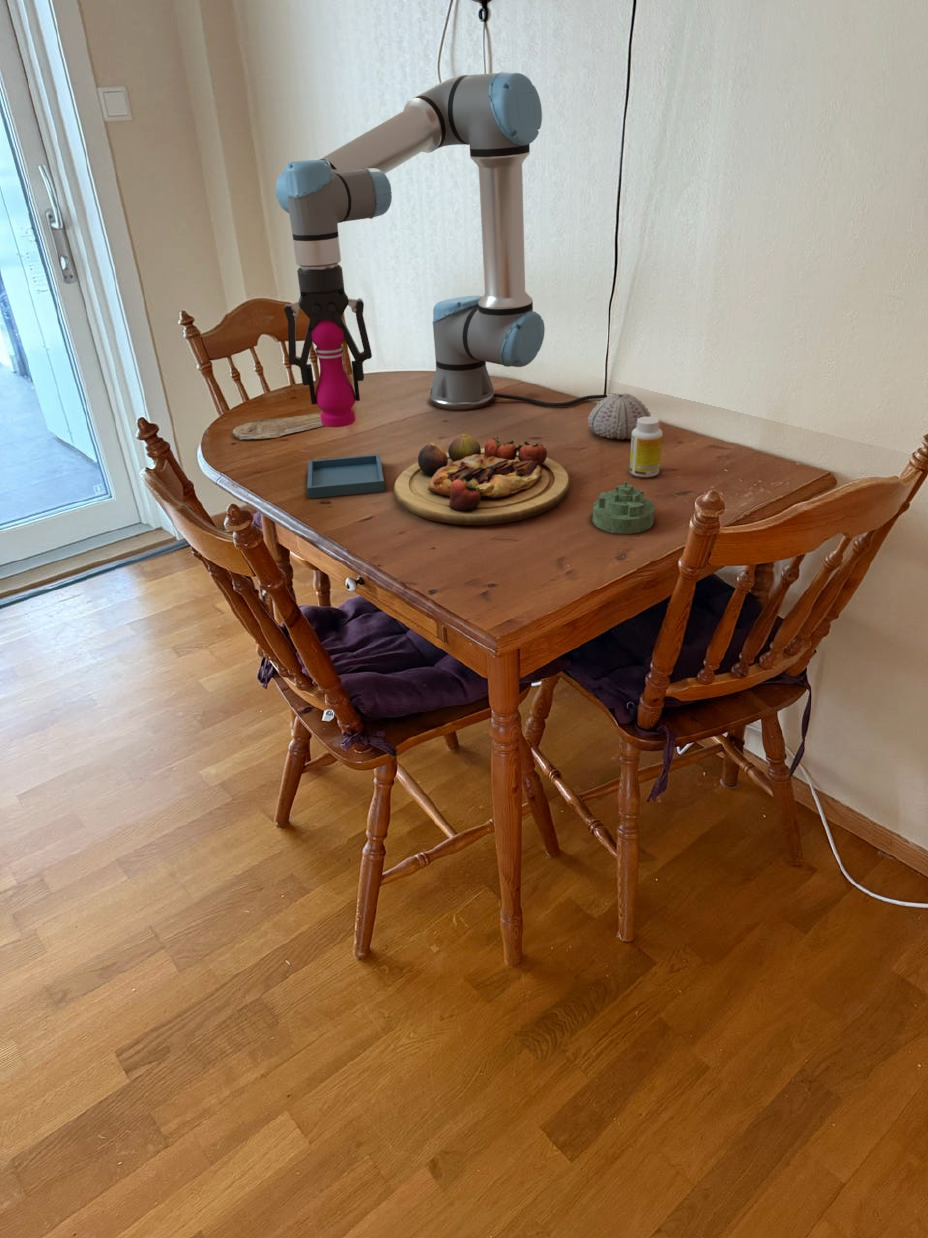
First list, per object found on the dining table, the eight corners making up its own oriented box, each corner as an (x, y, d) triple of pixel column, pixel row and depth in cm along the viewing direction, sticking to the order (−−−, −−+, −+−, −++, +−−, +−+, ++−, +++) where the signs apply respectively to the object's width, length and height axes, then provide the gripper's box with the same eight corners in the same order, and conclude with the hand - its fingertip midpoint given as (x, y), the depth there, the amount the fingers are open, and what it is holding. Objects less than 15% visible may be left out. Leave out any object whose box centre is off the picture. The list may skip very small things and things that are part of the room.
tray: (380, 463, 166) (379, 453, 165) (385, 491, 154) (383, 480, 153) (309, 470, 165) (308, 460, 163) (308, 498, 153) (307, 487, 152)
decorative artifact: (599, 505, 145) (586, 530, 137) (601, 467, 141) (588, 490, 133) (658, 511, 142) (647, 537, 134) (661, 472, 138) (651, 496, 130)
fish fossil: (332, 408, 197) (332, 403, 197) (352, 422, 190) (352, 417, 190) (227, 430, 185) (227, 425, 185) (244, 446, 178) (244, 441, 178)
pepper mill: (365, 417, 155) (353, 305, 145) (344, 430, 150) (330, 314, 139) (332, 413, 158) (318, 303, 148) (311, 426, 153) (295, 312, 142)
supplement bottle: (665, 474, 155) (670, 421, 150) (640, 480, 153) (645, 426, 148) (647, 465, 159) (651, 412, 154) (623, 471, 157) (626, 418, 152)
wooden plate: (522, 543, 134) (521, 495, 129) (359, 509, 148) (354, 465, 143) (596, 473, 157) (598, 430, 153) (450, 449, 171) (448, 409, 167)
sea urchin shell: (598, 419, 183) (599, 383, 178) (659, 426, 177) (662, 388, 173) (578, 439, 172) (579, 401, 168) (643, 447, 167) (646, 408, 163)
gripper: (378, 258, 144) (389, 389, 156) (259, 265, 142) (281, 398, 154) (380, 265, 138) (392, 401, 150) (256, 273, 136) (279, 411, 148)
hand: (335, 400), depth 152 cm, fingers closed on pepper mill, 7 cm apart
